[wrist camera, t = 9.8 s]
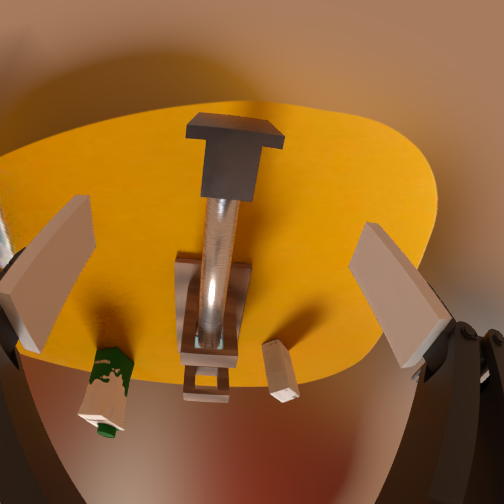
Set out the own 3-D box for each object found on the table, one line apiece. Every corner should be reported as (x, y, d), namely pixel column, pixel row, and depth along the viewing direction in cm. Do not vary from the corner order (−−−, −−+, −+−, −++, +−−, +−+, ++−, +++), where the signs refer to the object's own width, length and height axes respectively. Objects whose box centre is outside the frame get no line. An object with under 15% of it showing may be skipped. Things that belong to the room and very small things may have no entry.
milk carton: (113, 368, 61) (99, 437, 44) (91, 348, 56) (70, 421, 39) (139, 365, 60) (127, 439, 43) (117, 343, 55) (98, 423, 38)
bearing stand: (233, 352, 58) (237, 412, 46) (178, 348, 56) (173, 408, 44) (251, 264, 45) (260, 335, 33) (175, 257, 43) (161, 329, 31)
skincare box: (260, 344, 57) (266, 394, 47) (279, 337, 56) (289, 386, 46) (272, 357, 61) (280, 403, 51) (290, 350, 60) (300, 397, 50)
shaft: (232, 323, 42) (234, 372, 35) (186, 319, 41) (182, 369, 34) (267, 120, 26) (284, 136, 19) (199, 112, 25) (186, 124, 18)
